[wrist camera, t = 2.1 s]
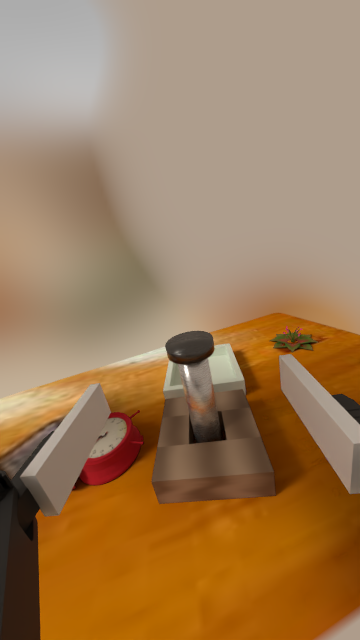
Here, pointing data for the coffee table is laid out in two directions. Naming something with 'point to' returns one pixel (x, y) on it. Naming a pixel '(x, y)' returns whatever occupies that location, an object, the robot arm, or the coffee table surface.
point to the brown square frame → (211, 455)
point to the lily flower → (293, 336)
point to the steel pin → (197, 381)
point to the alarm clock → (112, 450)
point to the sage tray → (222, 374)
